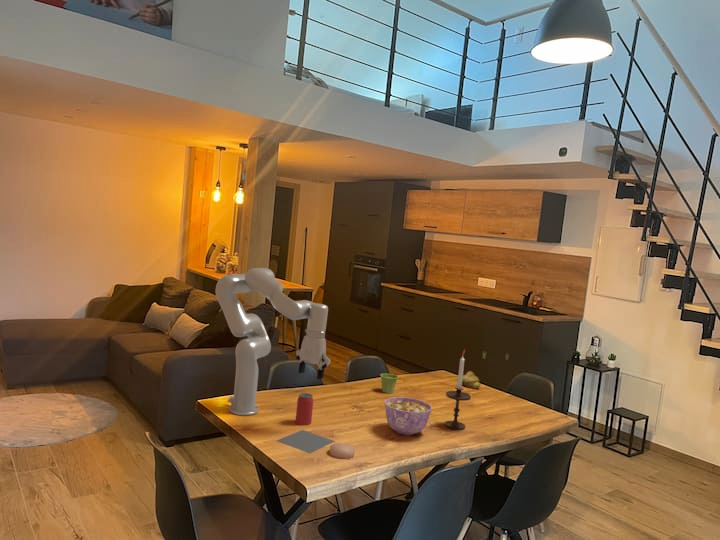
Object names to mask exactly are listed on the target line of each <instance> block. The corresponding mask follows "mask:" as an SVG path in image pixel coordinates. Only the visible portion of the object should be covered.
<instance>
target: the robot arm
mask: <svg viewBox="0 0 720 540" xmlns="http://www.w3.org/2000/svg"><path fill="white" fill-rule="evenodd" d="M214 290H215V295H216V296H215V297H216V300H217V301H218V304H219V306H220V307H221V310H222V312H223V315H224V318H225V319H226V322H227V325H228V328H229V330H230V333H232V335H233V336H234V337H236V338H242V337H246V338H244V339H241V340H240V341H239V342H238V343H237V344H236V347H235V352H234V353H235V363H236V365H235V378H234V389H233V396H230V397H229V398H228V399H227V403H230V406H229V407H228V412H230V413H231V414H233V415H238V416H253V415H256V414H257V413H259V409H260V408H259V406H257V405H256V403H257V401H256V400H257V393H258V383H259V382H258V381H259V364H258V361H257V360H258V359H260V358H264V357H266V356H268V355H269V354H270V353H271V348H272V344H271V340H270V337H269V334H268V333H267V330H266V328H265V325H264V322H263V321H262V319H261V318H260V316H258V315H257V314H255V313H246V311H245V309H244V307H243V306H244V305H243V304H242V302H241V301H240V300H239V299H238V297H237V296H236V294H247V293H251V292H254V291H256V292H257V293H259V294H261V295H262V296H263V297H264V298H266V299H268V301H269V302H270V304H271V305H272V307H273V308H274V309H275V310H276V311H277V312H278V313H280V314H281V315H283V316H284V317H286V318H287V319H289V320H292V321H298V320H304V319H307V326H306V328H305V329H304V332H305V333H306V335H304V336H303V340H302V342H301V345H300V346H301V347H300V349H297V350H295V355H296V359H297V362H298V365H299V366H298V373H299V374H302V373H303V374H304V373H305V370H306V362H307V363H310V364H314V365H317V366H318V368H319V369H317V374H316V375H317V376H316V379H317V380H321V379H322V380H323V378H324V377H325V375H324V374H325V370H326V369H327V368H328V367H329V365H330V364H331V363H332V360H331V359H330V358H329V357H328V356H327V355H326V354H327V342H326V341H327V340H326V338H325V337H326V329H327V322H328V315H329V314H328V313H329V307H328V305H326V304H323V303H316V302H313V301H310V300H307V299H302V300H294V299H291V297H288V296H287V295H286V294H285V293H284V292H283V291H284V285H283V283H282V282H281V281H279V280H277V279H276V276H275V273H274V272H273V271H272V270H271V269H270V268H267V267H253V268H250V269H248V270H247V272H246V273H232V274H231V273H230V274H225V275H224V276H221V277H220V278H219V279H218V281H217V283H216V286H215V289H214Z"/></svg>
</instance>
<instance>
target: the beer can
mask: <svg viewBox="0 0 720 540" xmlns="http://www.w3.org/2000/svg"><path fill="white" fill-rule="evenodd" d="M296 403H297V404H296V410H295V411H296V413H295V423H296V424H297V425H300V426H309V425H311V424H312V420H313V419H312V418H313V407H314V398H313V395H312V394H311V393H308V392H307V393H305V392H304V393H300V394H299V395H298V397H297V401H296Z"/></svg>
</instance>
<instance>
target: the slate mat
mask: <svg viewBox="0 0 720 540" xmlns="http://www.w3.org/2000/svg"><path fill="white" fill-rule="evenodd" d="M275 441H276V442H278V443H281V444H284V445H287V446H289V447H292V448H295V449H297V450H299V451H303V452H306V453H307V454H311V453H313V452H317V451H318V450H321V449H323V448H324V447H326V446H329V445H332V444H334V443H335V442H336V441H335V440H334V439H330V438H327V437H325V436H322V435H318V434H315V433H314V432H313V433H312V432H310V431H306V430H304V429H301V430H299V431H297V432H293V433H291V434H289V435H286V436H284V437H281V438H279V439H277V440H275Z"/></svg>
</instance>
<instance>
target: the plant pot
mask: <svg viewBox="0 0 720 540" xmlns="http://www.w3.org/2000/svg"><path fill="white" fill-rule="evenodd" d="M379 375H380V379H381V392H383V393H385V394H392V393H394V392H395V391H394V390H395V387H396V384H397V381H398V378H399V375H396V374H393V373H380V374H379Z"/></svg>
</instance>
